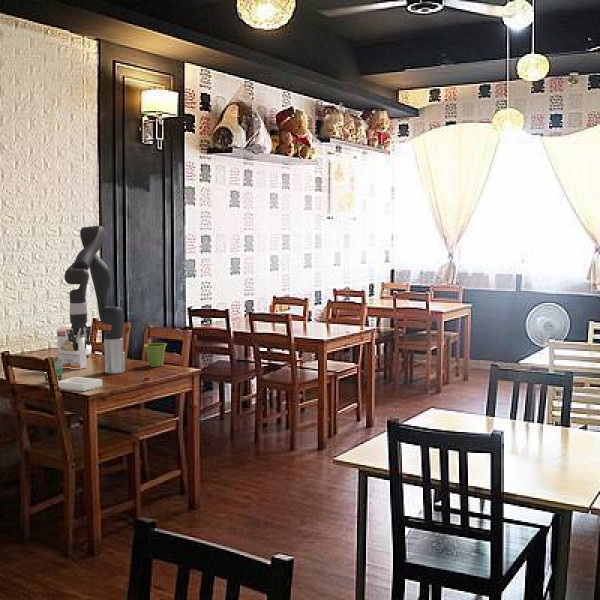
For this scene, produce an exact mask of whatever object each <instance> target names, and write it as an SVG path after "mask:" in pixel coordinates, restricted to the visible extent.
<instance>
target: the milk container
mask: <svg viewBox="0 0 600 600" xmlns="http://www.w3.org/2000/svg"><path fill="white" fill-rule="evenodd" d="M86 325H87V326H89V324H87V323H86ZM71 326H72V324H71V323H70V324H63V325H60V328H71ZM60 328H59V329H60ZM87 335H88V334H87ZM91 354H92V345H91V341H90V338H89V339H87V341H86V357H89V356H90V355H91ZM88 355H89V356H88Z"/></svg>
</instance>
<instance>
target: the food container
mask: <svg viewBox="0 0 600 600" xmlns="http://www.w3.org/2000/svg"><path fill="white" fill-rule="evenodd" d="M53 362H54V364H55V368H56V372H57V377H58V380H59V381H61V380H63V378H62V377H63V376H62V375H63V374H62V373H63V368H62V366H63V362H62V360H58V358H57V359H55V361H53ZM44 380H45V381H44V382H45V385H49V384H48V378H47V374H46V373H44Z"/></svg>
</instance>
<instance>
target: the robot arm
mask: <svg viewBox="0 0 600 600" xmlns="http://www.w3.org/2000/svg"><path fill="white" fill-rule="evenodd" d="M79 237H80V241H81V244H82V247H83V248H82V249H81V250H80V251H79V252H78V253H77V255H76V258H74V261H73V263H72V264H70V265H69V267H67V268H66V270H65V273H64V277H63V278H64V281H65V282H66V283H67V285H79V286H78V288H77V289H71V290H70V291H69V322H70V324H72V326H71V329H67V330H66V331H67V335H68V339H69V341H70V342H73V350H74V351H78V343H77V342H78V338H79V337H80V335H84V338H85V349H86V341H87V339H89V340H90V337H91V332H92V326H90V325H88V324H87V323H88V308H87V300H86V299H87V297H86V296H87V294H86V293H87V287H88V283H89V280H90V276H91V281H92V285H93V287H94V288H93V289H94V292H95V297H96V303H97V311H98V316H99V317H98V318H99V320H100V322H101V324H103V325H108V326H111V329H110V330H109V331H106V332H104V333H103V344H104V345H103V346H104V347H103V348H104V349H103V350H104V366H105V367H104V369H105V373H106V374H121V373H124V372H125V371H126V355H125V351H124V332H125V328H124V325H125V313H124V311H123V308H122V307H121V306H110V304H109V298H108V297H109V292H110V289H111V287H112V283H113V279H112V274H111V270H110V268H109V266H108V264H107V263H105V261H104V260H102V258H101V257H100V256H99V255H98V254H97V253H98V252H99V250H100V249H101V248H102V246H103V245H104V244H105V241H106V239H107V238H106V237H107V235H106V230H105V228H104V227H103V226H101V225H91V226H90V225H89V226H83V227H82V228H80V232H79ZM89 272H90V274H89ZM86 324H87V325H88V326H87V325H86ZM87 334H88V335H87ZM75 335H77V336H75ZM75 337H76V340H75ZM71 338H72V339H71Z"/></svg>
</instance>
